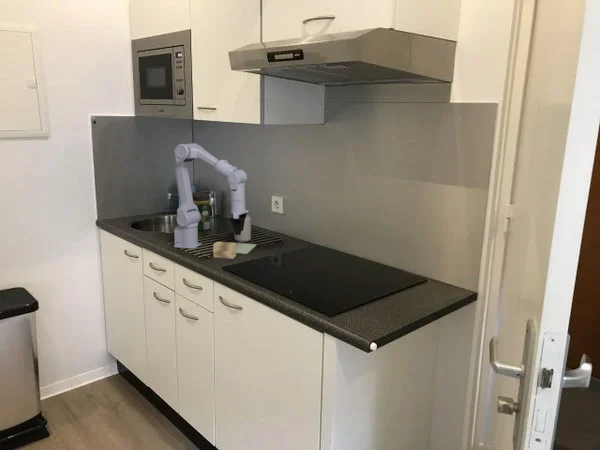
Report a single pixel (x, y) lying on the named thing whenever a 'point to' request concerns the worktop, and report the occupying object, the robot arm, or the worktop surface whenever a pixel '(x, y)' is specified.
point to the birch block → (224, 250)
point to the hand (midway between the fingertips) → (239, 232)
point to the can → (245, 231)
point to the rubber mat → (244, 248)
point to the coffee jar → (202, 209)
